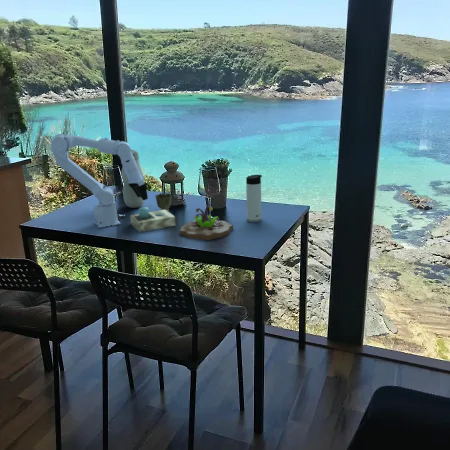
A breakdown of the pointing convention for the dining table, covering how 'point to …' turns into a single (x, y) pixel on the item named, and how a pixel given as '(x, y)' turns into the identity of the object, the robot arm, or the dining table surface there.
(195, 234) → the plant
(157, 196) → the cup
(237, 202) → the dining table surface
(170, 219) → the socket block
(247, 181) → the travel mug
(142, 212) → the peg
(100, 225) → the robot arm
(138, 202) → the pale grey bottle
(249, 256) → the dining table surface
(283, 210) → the dining table surface
